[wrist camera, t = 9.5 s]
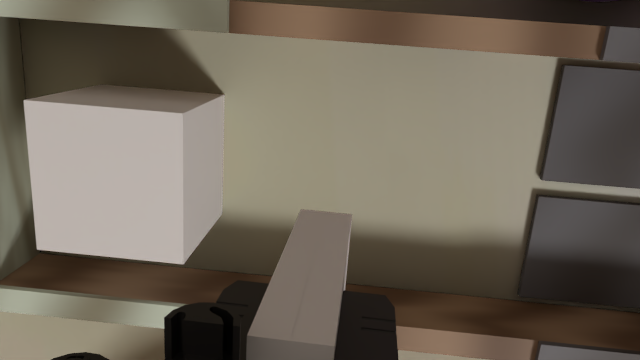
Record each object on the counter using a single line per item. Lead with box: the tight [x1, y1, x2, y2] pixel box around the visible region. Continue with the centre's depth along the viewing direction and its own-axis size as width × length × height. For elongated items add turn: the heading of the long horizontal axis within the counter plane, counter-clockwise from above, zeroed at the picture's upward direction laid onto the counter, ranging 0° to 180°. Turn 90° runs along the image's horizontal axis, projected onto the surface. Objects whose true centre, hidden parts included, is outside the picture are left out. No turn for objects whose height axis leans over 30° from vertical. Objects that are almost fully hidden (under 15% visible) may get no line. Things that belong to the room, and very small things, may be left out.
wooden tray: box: [0, 0, 640, 360], centre depth 23 cm, size 36×14×4 cm, turn 86°
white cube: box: [24, 84, 225, 264], centre depth 22 cm, size 6×6×6 cm
